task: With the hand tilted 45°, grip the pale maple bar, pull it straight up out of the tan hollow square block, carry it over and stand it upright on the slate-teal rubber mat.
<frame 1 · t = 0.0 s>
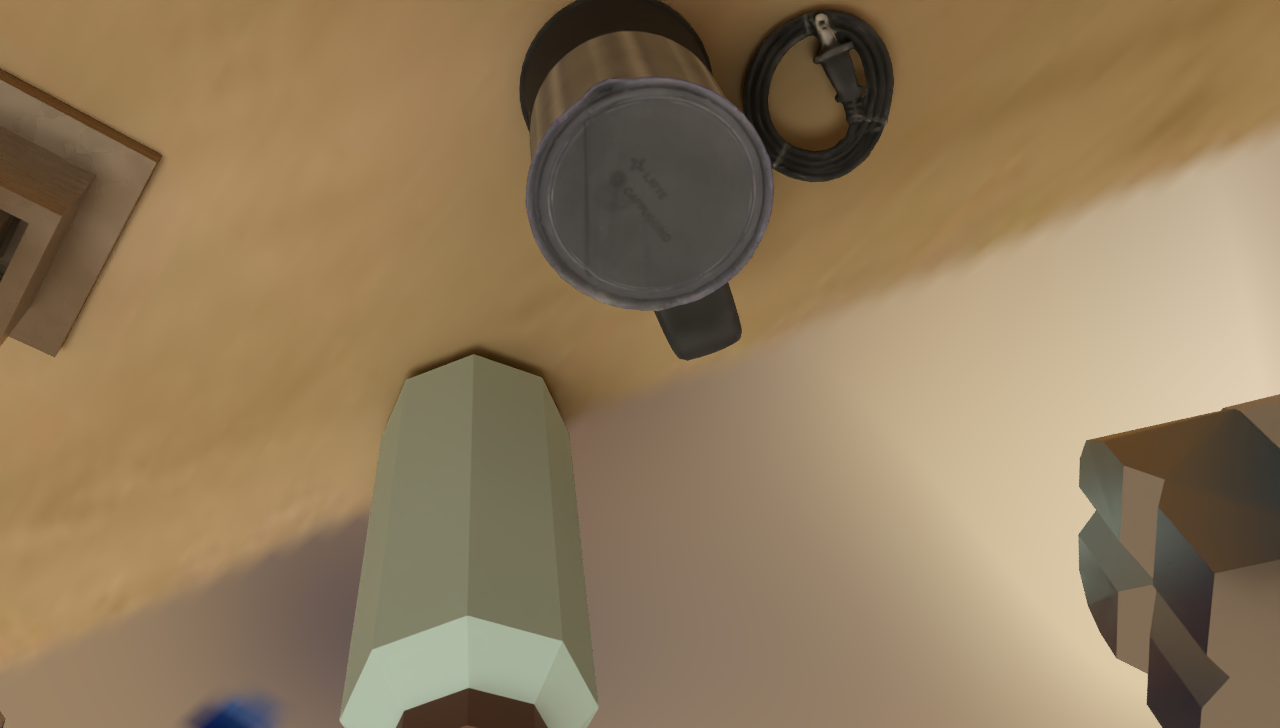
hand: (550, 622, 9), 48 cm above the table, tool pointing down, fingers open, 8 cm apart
water bottle: (476, 421, 64), on the table
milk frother: (699, 81, 56), on the table
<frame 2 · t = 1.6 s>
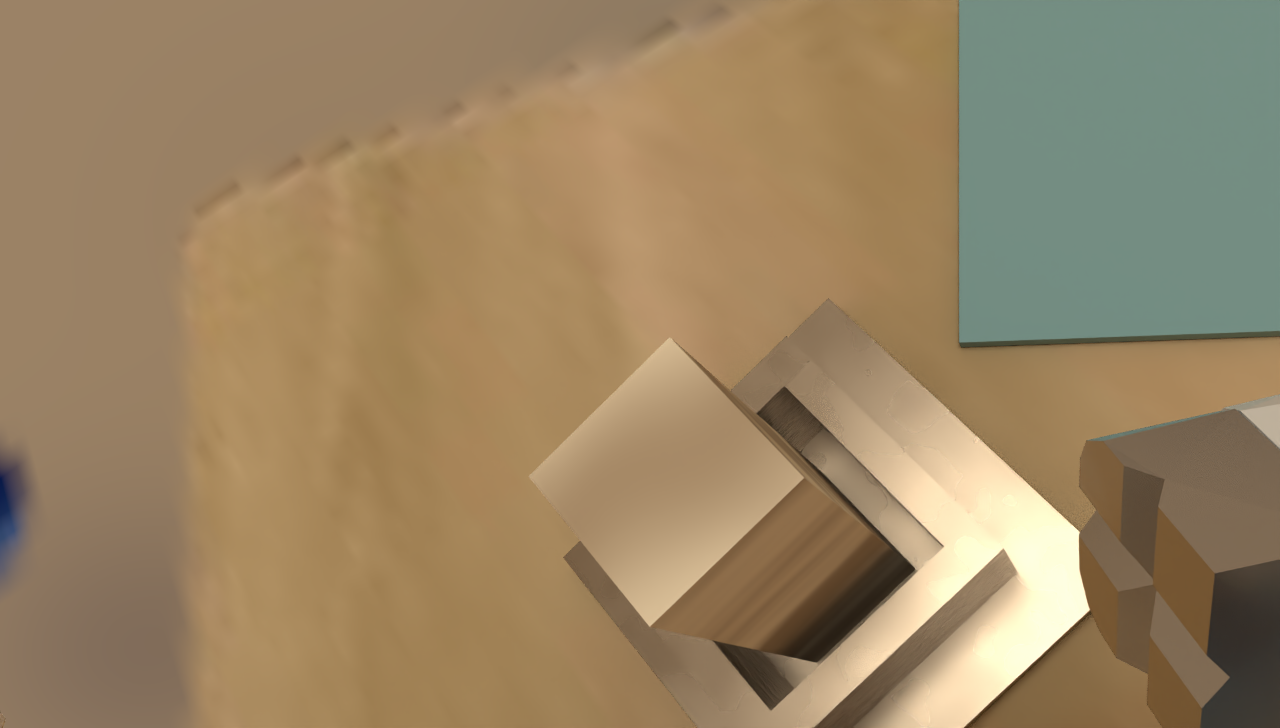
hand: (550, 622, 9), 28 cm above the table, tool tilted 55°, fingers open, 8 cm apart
teal mat: (1231, 86, 36), on the table
maple bar: (819, 565, 35), point 1 cm above the table, touching tan hollow square block
tan hollow square block: (827, 569, 36), on the table
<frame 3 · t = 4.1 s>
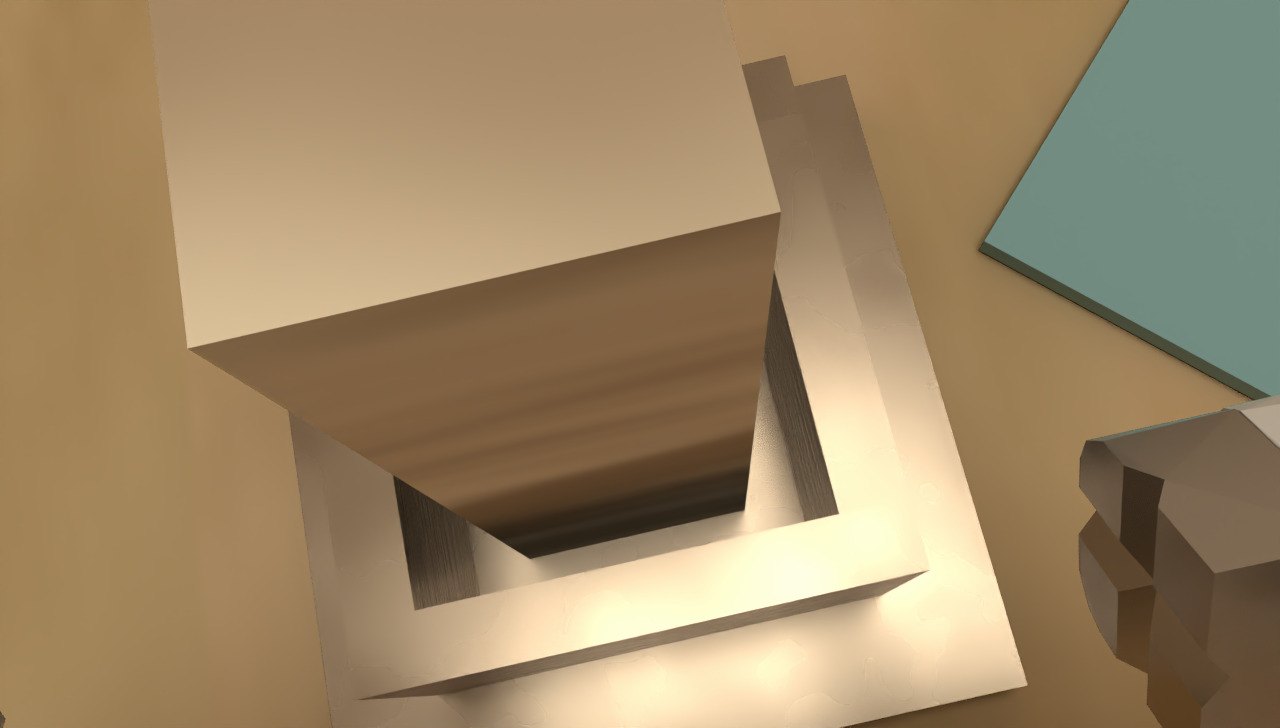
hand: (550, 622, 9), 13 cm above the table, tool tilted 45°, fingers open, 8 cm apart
maple bar: (614, 429, 22), point 1 cm above the table, touching tan hollow square block
tan hollow square block: (619, 439, 23), on the table
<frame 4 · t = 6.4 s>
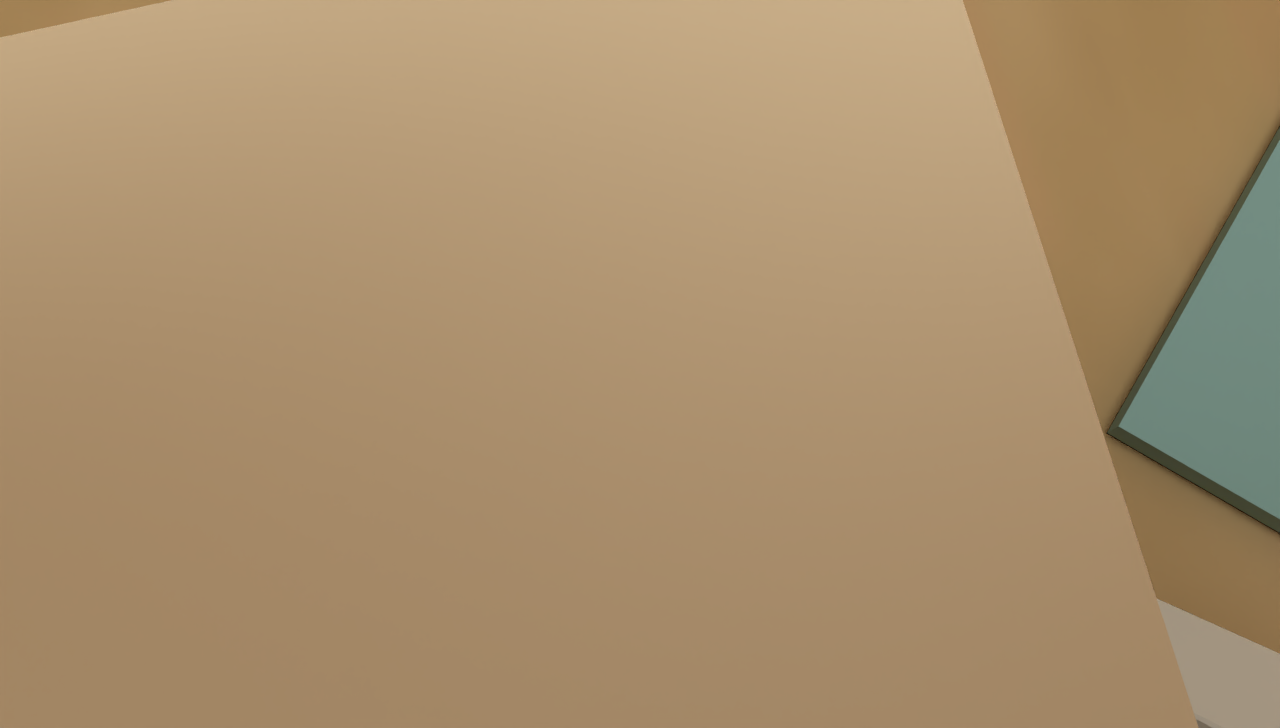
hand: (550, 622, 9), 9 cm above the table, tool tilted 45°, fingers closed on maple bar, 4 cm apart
maple bar: (629, 687, 16), point 1 cm above the table, touching tan hollow square block, gripper
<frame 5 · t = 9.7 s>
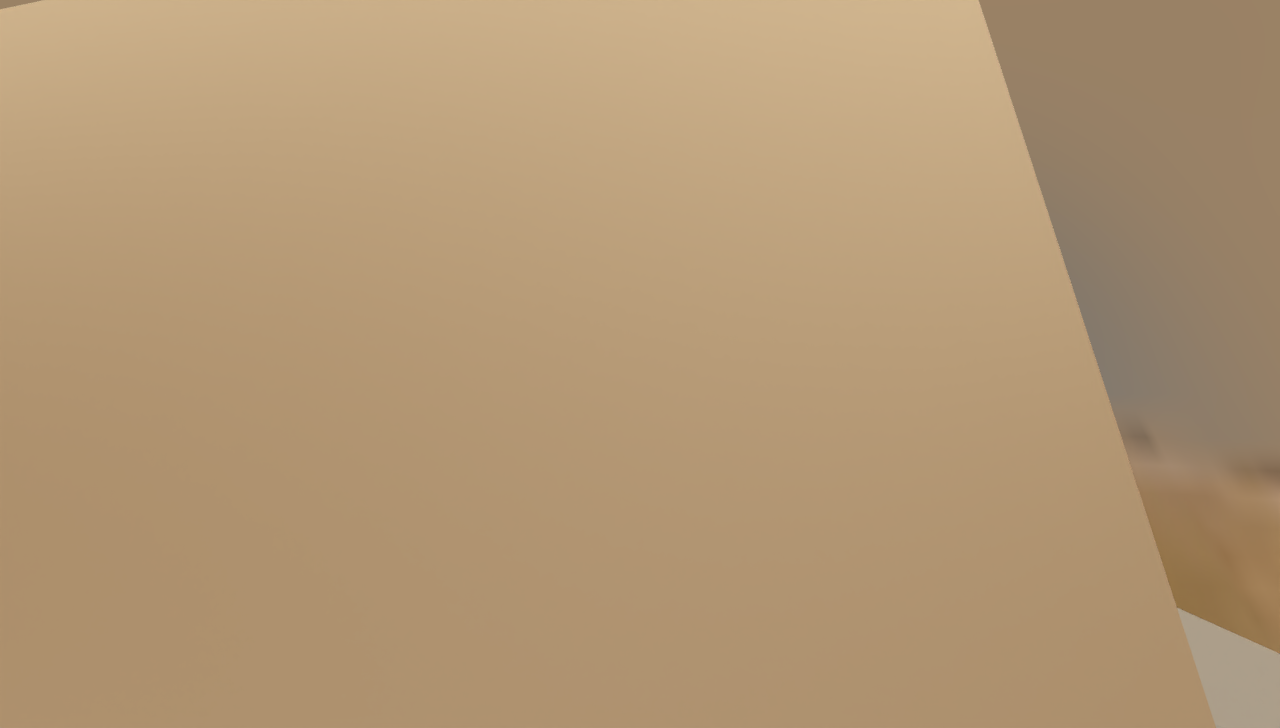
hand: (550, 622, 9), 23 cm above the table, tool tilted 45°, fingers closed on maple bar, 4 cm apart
maple bar: (623, 684, 16), point 16 cm above the table, touching gripper
when the fingers open (10 cm above the table, at t = 13.3 s): maple bar drops 2 cm, resting on teal mat.
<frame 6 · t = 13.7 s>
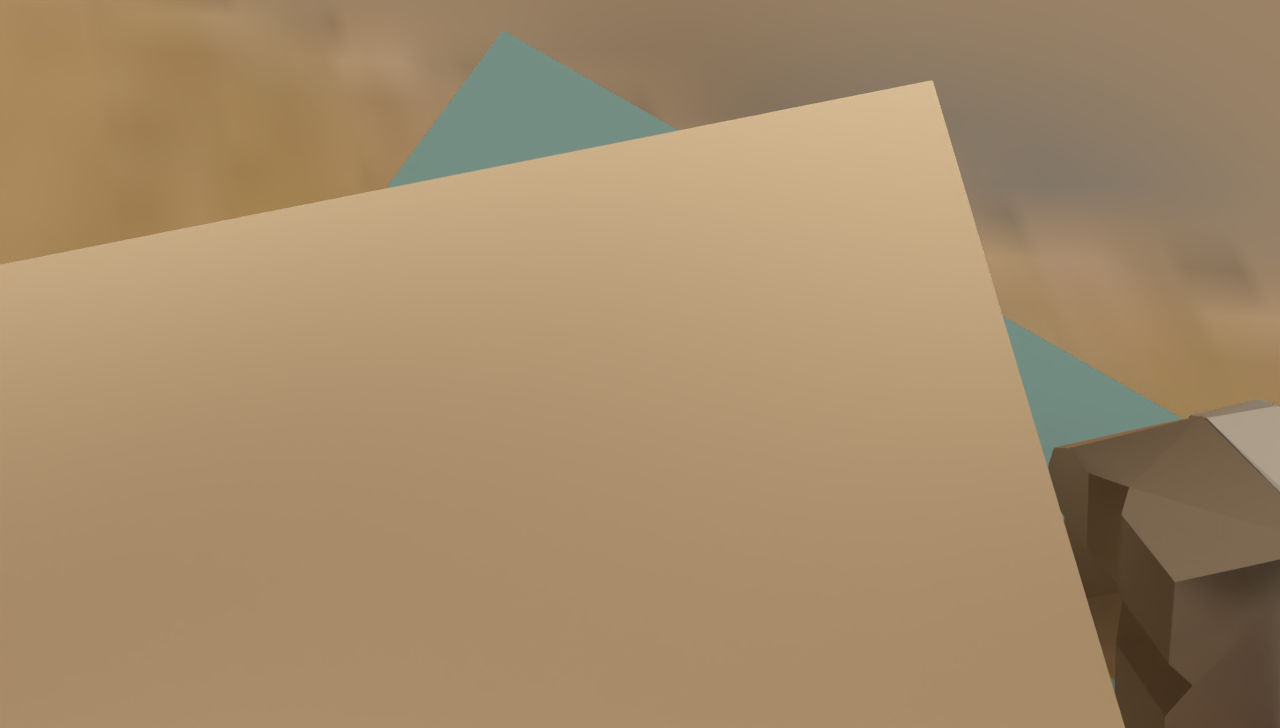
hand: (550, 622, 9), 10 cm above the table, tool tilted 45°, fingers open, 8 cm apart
teal mat: (637, 685, 18), on the table
maple bar: (636, 682, 17), point 1 cm above the table, touching teal mat
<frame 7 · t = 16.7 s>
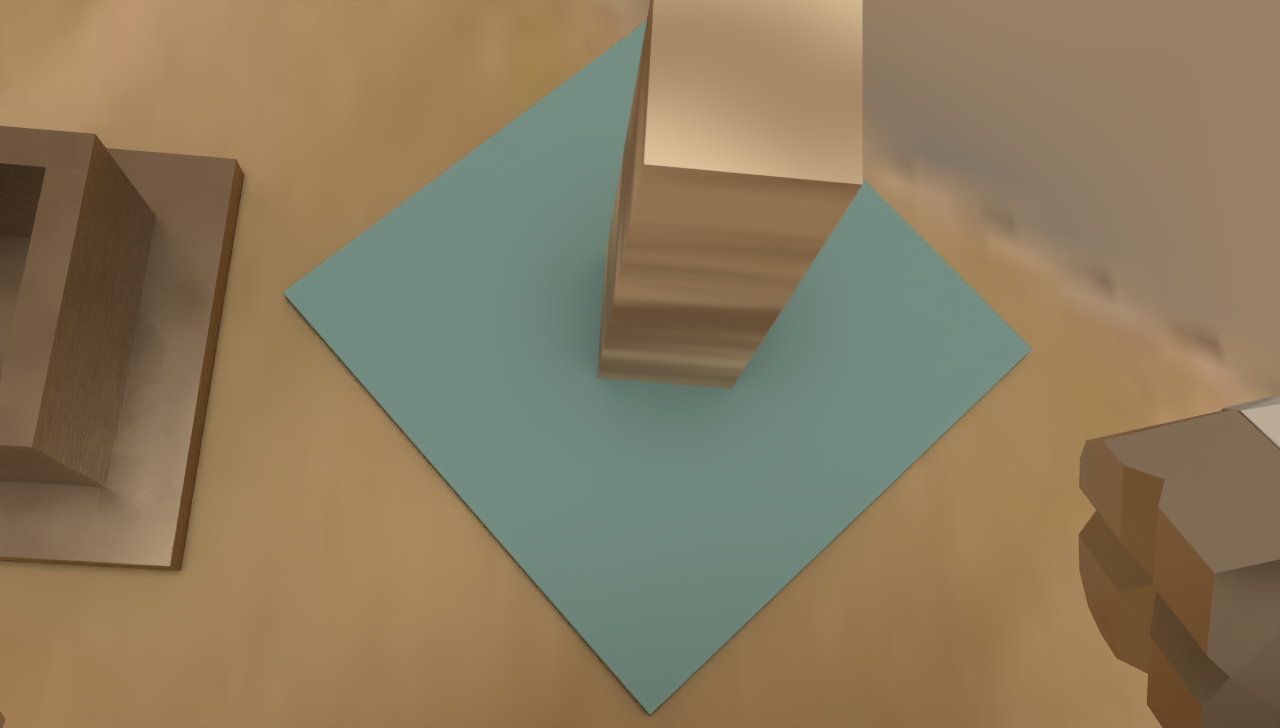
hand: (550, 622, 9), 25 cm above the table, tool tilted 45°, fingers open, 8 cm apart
teal mat: (664, 326, 35), on the table
maple bar: (667, 319, 35), resting on teal mat
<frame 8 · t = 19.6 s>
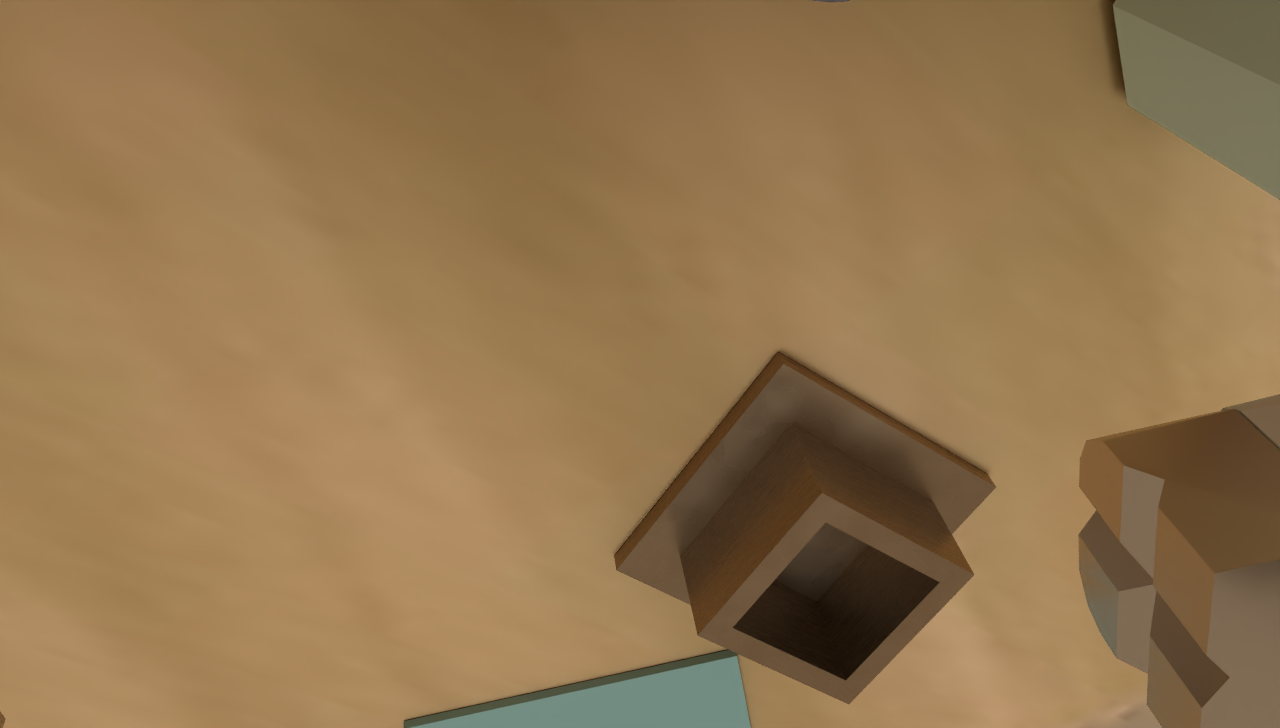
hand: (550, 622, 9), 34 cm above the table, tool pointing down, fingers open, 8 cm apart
tan hollow square block: (801, 514, 52), on the table
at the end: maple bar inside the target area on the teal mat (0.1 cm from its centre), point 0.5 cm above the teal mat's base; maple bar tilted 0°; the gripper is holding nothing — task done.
